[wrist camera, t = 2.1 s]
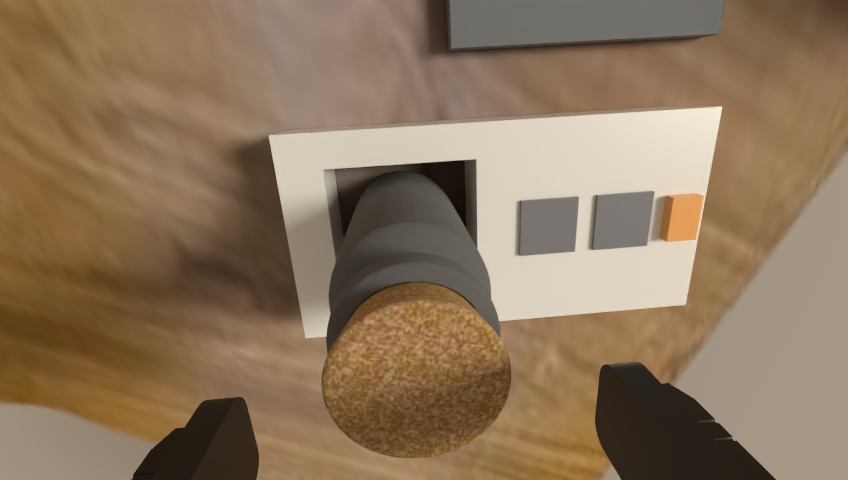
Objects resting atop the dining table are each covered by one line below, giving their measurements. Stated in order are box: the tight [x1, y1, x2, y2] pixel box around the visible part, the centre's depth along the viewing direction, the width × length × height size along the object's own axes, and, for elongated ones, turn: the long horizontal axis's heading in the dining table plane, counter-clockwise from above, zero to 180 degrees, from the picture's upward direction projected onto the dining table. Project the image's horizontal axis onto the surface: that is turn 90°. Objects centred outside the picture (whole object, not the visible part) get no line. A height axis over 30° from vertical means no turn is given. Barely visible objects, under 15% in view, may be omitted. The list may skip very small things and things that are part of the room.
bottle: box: [322, 171, 511, 458], centre depth 17 cm, size 6×6×15 cm
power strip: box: [269, 106, 722, 338], centre depth 22 cm, size 22×11×4 cm, turn 93°
